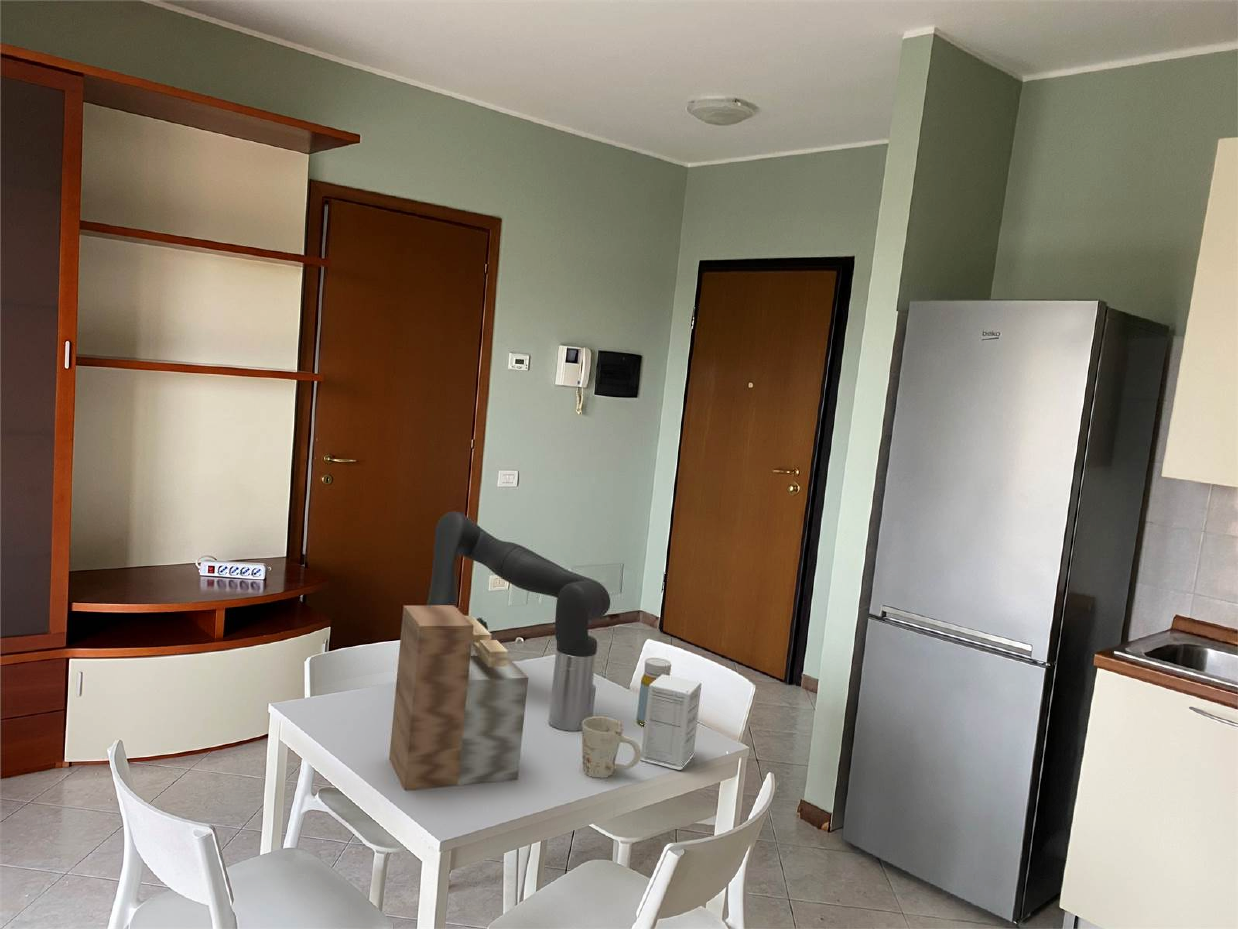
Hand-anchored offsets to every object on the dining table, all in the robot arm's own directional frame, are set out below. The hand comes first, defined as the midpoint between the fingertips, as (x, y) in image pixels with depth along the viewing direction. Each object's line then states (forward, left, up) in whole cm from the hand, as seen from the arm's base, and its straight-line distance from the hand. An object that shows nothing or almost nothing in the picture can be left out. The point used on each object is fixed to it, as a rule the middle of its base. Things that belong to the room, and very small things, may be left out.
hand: (471, 622), depth 188 cm
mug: (-26, +20, -26) cm, 41 cm away
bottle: (-48, -3, -26) cm, 54 cm away
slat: (0, +7, -3) cm, 8 cm away
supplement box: (-42, +16, -26) cm, 52 cm away
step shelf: (+4, +12, -26) cm, 29 cm away
